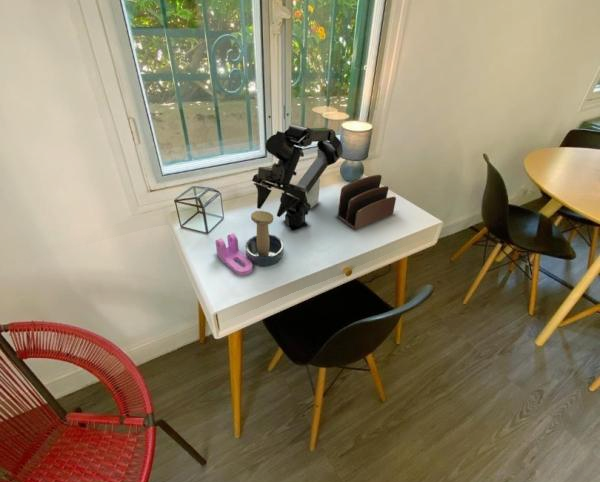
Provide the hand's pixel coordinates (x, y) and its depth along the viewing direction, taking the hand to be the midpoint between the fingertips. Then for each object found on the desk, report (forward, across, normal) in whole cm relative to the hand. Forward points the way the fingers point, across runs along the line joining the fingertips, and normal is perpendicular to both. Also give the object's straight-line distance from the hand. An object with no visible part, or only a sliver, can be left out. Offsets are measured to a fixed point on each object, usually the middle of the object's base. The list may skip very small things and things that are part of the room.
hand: (268, 212), depth 101 cm
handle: (+13, +1, +5) cm, 14 cm away
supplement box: (-8, -11, +30) cm, 33 cm away
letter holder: (-12, +9, +40) cm, 43 cm away
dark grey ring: (+13, 0, +5) cm, 14 cm away
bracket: (+18, -3, -2) cm, 18 cm away
